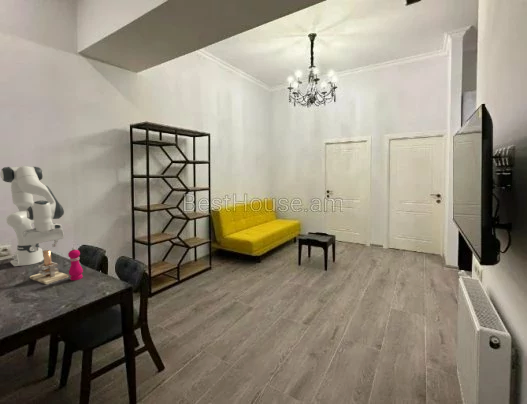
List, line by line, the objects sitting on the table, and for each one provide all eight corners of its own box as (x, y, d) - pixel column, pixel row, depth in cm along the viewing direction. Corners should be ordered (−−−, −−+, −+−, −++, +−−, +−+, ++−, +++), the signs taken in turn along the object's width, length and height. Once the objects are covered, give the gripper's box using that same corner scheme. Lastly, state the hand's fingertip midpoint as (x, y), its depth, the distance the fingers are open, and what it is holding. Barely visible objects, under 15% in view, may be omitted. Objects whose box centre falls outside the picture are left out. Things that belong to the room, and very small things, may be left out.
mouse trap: (30, 278, 167) (28, 264, 166) (52, 271, 178) (50, 258, 177) (46, 284, 158) (44, 269, 157) (68, 277, 169) (67, 263, 167)
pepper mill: (76, 281, 162) (73, 249, 160) (66, 280, 163) (63, 248, 161) (86, 276, 169) (83, 246, 167) (76, 275, 170) (73, 245, 168)
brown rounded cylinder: (47, 276, 165) (44, 252, 163) (44, 275, 167) (41, 251, 165) (53, 274, 168) (51, 250, 167) (50, 273, 170) (48, 249, 168)
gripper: (25, 230, 153) (27, 254, 155) (64, 224, 171) (66, 245, 173) (20, 229, 156) (22, 252, 158) (59, 223, 174) (61, 244, 176)
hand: (45, 248), depth 165 cm, fingers open, 8 cm apart
